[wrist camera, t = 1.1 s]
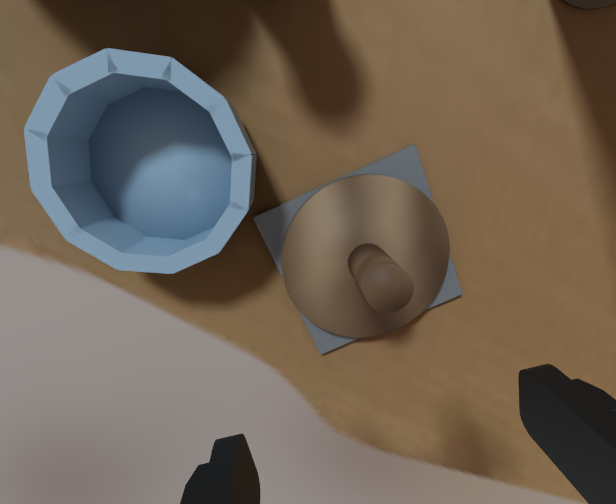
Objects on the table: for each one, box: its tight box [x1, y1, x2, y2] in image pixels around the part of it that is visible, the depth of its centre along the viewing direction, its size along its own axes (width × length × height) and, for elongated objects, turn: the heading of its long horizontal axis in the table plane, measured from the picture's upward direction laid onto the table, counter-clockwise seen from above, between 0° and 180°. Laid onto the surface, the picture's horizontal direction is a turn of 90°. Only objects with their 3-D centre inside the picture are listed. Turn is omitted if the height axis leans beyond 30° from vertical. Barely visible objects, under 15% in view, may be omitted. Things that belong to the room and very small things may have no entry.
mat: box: [253, 145, 463, 354], centre depth 29 cm, size 14×14×1 cm
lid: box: [282, 174, 450, 337], centre depth 25 cm, size 14×14×7 cm
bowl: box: [24, 48, 257, 274], centre depth 23 cm, size 13×13×6 cm
